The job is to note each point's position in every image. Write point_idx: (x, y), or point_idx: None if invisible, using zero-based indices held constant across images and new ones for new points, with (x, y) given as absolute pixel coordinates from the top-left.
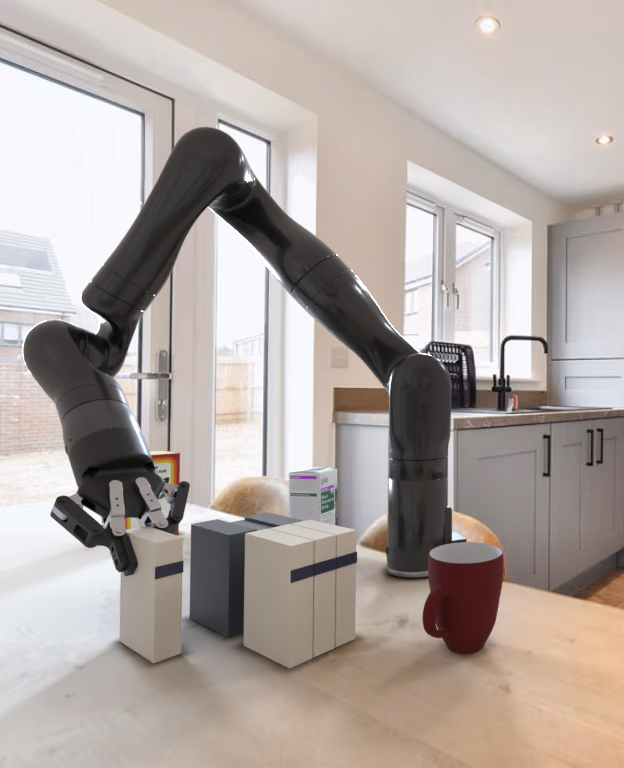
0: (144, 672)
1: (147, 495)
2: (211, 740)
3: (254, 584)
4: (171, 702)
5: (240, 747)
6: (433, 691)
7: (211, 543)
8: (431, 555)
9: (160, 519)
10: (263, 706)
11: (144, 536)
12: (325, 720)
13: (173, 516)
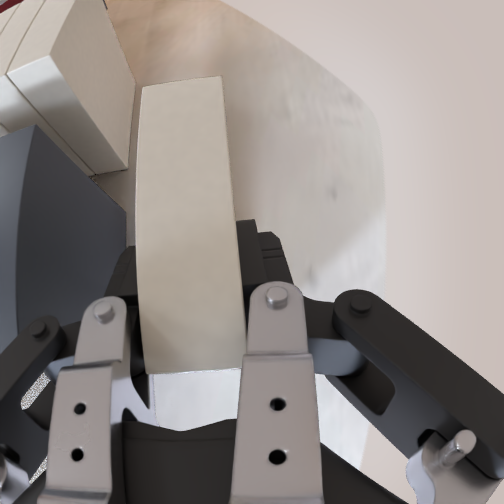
0: (249, 186)
1: (83, 448)
2: (247, 34)
3: (94, 89)
4: (249, 96)
5: (235, 19)
6: (107, 10)
7: (42, 232)
8: (4, 7)
9: (98, 330)
10: (193, 45)
11: (214, 179)
12: (176, 14)
13: (50, 334)
